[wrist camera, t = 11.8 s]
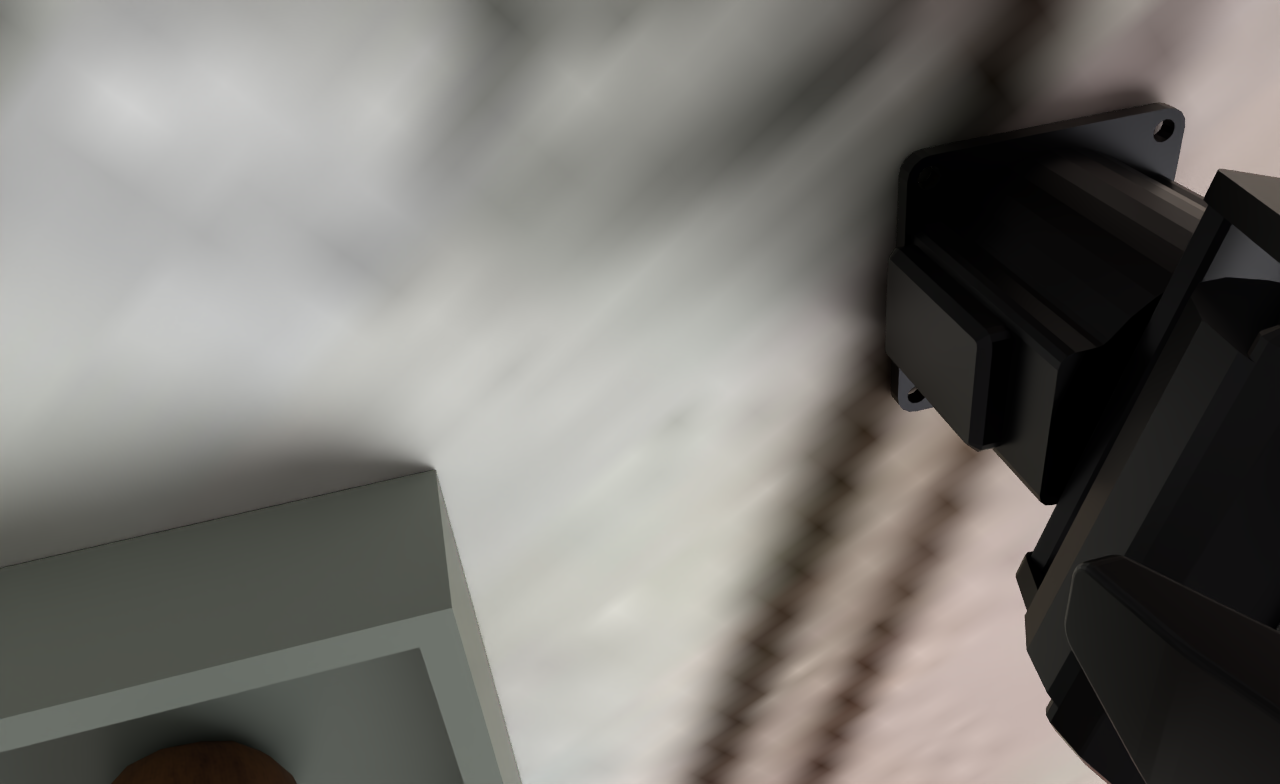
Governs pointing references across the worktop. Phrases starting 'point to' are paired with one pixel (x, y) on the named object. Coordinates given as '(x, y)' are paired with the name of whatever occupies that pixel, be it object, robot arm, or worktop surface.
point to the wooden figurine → (206, 766)
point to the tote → (258, 647)
